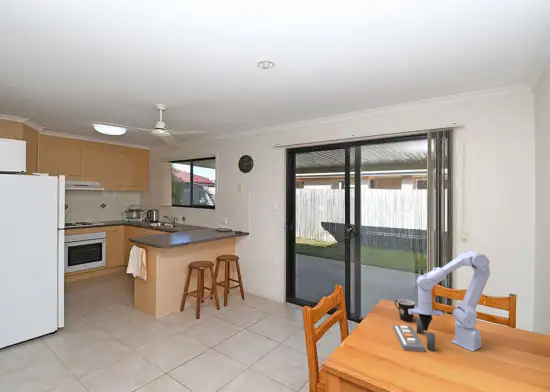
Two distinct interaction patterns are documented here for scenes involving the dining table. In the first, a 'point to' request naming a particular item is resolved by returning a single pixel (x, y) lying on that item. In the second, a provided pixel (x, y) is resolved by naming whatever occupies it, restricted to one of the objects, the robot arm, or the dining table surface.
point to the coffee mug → (405, 309)
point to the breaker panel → (408, 338)
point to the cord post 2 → (431, 342)
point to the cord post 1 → (419, 326)
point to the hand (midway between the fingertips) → (425, 329)
